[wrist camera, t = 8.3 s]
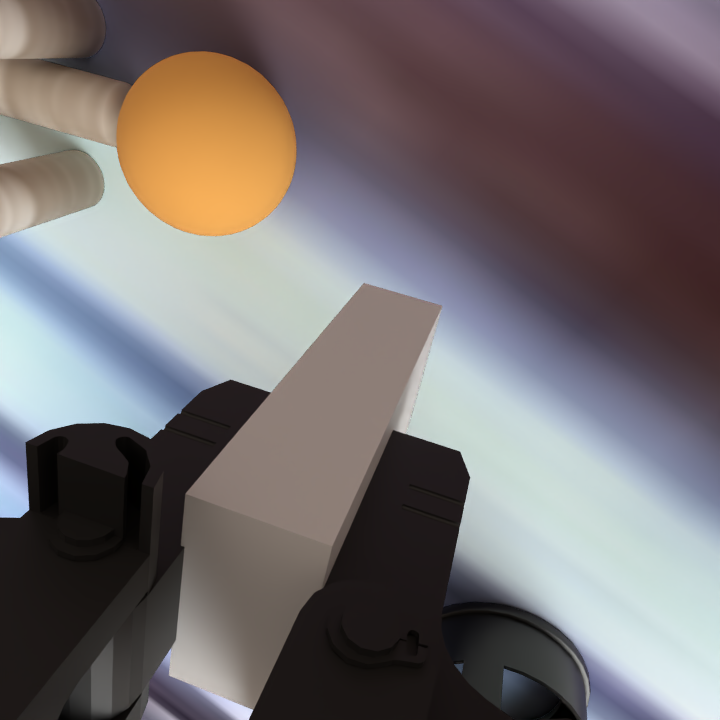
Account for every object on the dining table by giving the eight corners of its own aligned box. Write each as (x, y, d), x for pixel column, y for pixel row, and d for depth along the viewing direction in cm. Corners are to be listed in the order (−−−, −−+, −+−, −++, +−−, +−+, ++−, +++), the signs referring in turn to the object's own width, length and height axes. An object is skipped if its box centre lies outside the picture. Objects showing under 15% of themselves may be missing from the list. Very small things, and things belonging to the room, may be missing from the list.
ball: (90, 18, 21) (244, 52, 25) (79, 202, 23) (220, 204, 27) (191, 57, 17) (349, 88, 22) (165, 267, 20) (311, 258, 24)
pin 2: (104, 157, 27) (-66, 198, 19) (104, 213, 28) (-57, 272, 21) (53, 143, 27) (-133, 178, 20) (54, 199, 28) (-121, 252, 21)
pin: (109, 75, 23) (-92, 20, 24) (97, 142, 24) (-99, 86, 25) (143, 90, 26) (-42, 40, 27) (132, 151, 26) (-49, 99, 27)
